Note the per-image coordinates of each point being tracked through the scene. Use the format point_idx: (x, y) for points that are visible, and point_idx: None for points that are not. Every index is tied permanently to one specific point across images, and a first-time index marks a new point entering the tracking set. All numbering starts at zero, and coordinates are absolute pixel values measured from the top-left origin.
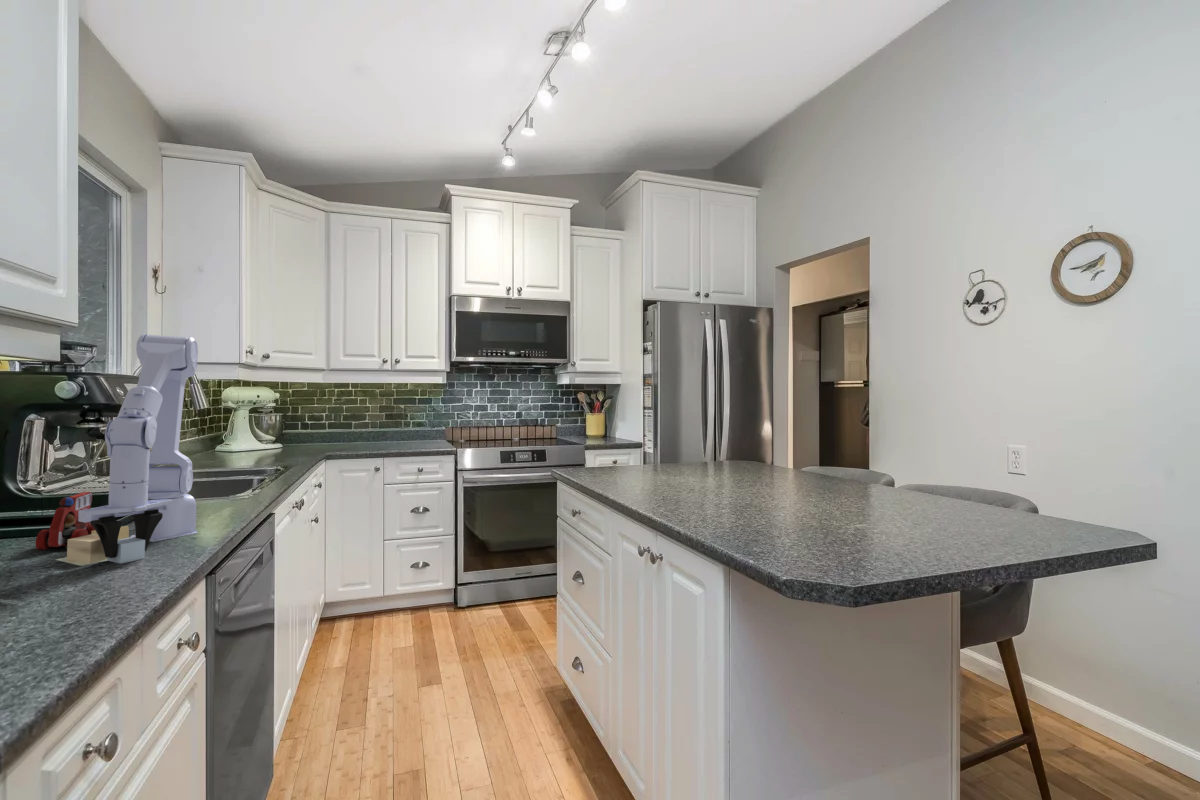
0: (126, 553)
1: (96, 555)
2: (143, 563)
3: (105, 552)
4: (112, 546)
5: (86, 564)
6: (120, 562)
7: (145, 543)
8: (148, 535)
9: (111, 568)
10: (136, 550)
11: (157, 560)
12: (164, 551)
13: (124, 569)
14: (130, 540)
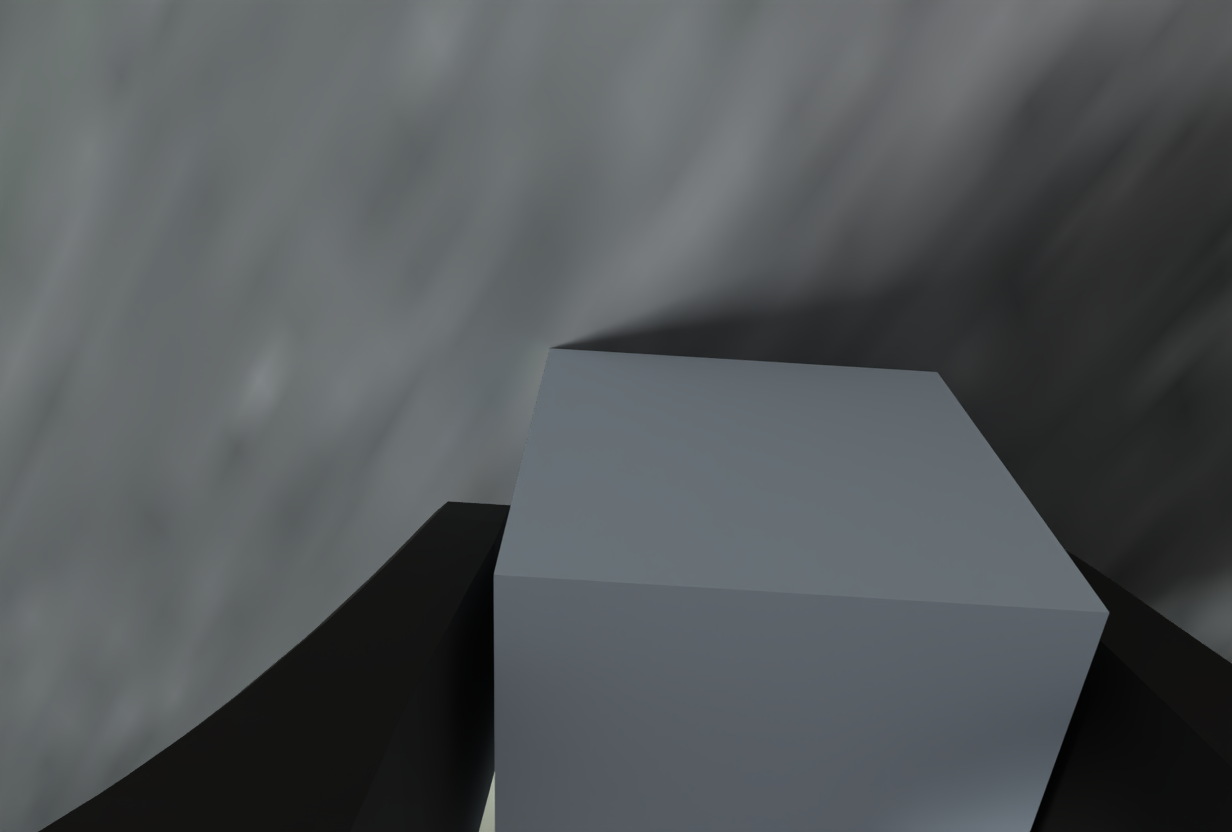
0: (902, 459)
1: None
2: (683, 174)
3: None
4: (1226, 669)
5: None
6: (954, 398)
7: (449, 575)
8: (350, 684)
9: (1112, 339)
10: (698, 463)
11: (432, 149)
12: (75, 575)
13: (1114, 75)
14: (705, 777)
